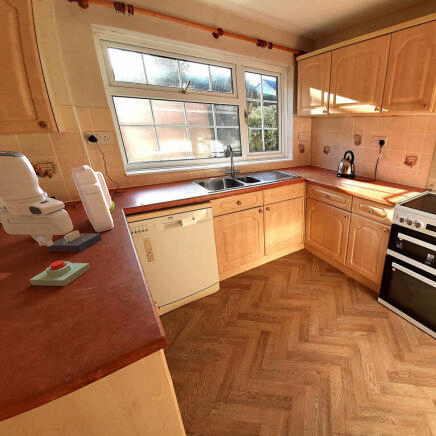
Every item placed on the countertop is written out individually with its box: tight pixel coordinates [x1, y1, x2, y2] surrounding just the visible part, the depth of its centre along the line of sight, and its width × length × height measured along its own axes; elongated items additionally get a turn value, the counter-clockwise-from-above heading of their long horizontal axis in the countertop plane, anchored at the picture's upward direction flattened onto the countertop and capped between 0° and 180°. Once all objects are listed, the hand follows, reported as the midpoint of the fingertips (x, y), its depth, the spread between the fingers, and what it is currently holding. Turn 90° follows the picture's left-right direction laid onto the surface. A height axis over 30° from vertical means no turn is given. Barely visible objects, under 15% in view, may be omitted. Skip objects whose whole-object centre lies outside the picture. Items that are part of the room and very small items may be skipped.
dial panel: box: [46, 233, 103, 253], centre depth 105 cm, size 14×11×3 cm
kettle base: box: [29, 260, 92, 287], centre depth 83 cm, size 12×10×4 cm
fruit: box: [109, 200, 115, 214], centre depth 139 cm, size 9×9×10 cm
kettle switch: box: [49, 259, 66, 270], centre depth 82 cm, size 4×4×2 cm
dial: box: [64, 229, 81, 242], centre depth 104 cm, size 5×1×3 cm, turn 175°
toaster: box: [70, 164, 114, 233], centre depth 121 cm, size 27×11×30 cm, turn 44°
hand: (47, 245), depth 79 cm, fingers closed
